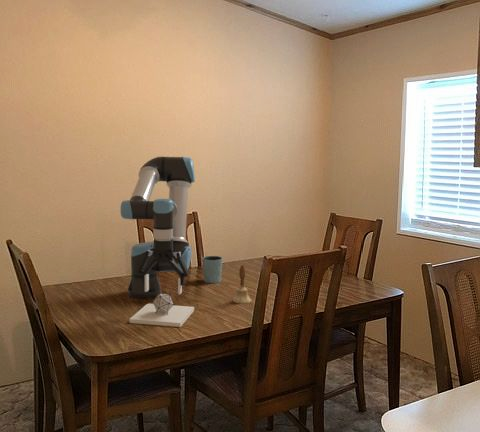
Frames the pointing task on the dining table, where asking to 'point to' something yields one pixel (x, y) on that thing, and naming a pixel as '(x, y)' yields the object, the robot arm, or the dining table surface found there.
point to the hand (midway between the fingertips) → (163, 292)
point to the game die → (163, 303)
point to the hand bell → (242, 289)
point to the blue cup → (212, 269)
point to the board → (162, 316)
